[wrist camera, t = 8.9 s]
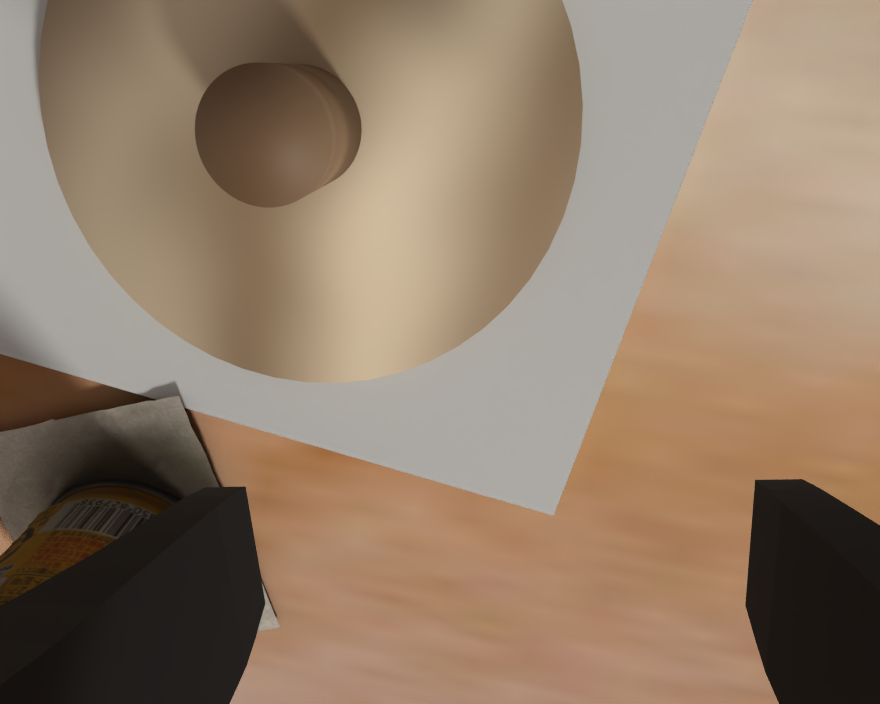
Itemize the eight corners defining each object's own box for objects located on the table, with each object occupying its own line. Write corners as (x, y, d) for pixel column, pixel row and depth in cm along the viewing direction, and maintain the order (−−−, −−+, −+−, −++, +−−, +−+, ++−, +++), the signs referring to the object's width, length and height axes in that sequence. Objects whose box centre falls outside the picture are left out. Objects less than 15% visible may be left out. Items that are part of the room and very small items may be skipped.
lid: (645, -128, 16) (678, -183, 13) (515, 415, 21) (512, 485, 18) (59, -236, 17) (-65, -318, 13) (56, 318, 22) (-37, 367, 18)
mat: (785, -98, 17) (791, -102, 17) (552, 508, 23) (553, 515, 22) (-10, -336, 17) (-22, -346, 16) (-44, 333, 22) (-54, 338, 22)
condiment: (81, 654, 26) (-229, 1113, 15) (-39, 438, 23) (-535, 815, 12) (282, 622, 25) (104, 1097, 14) (183, 390, 22) (-145, 760, 11)
